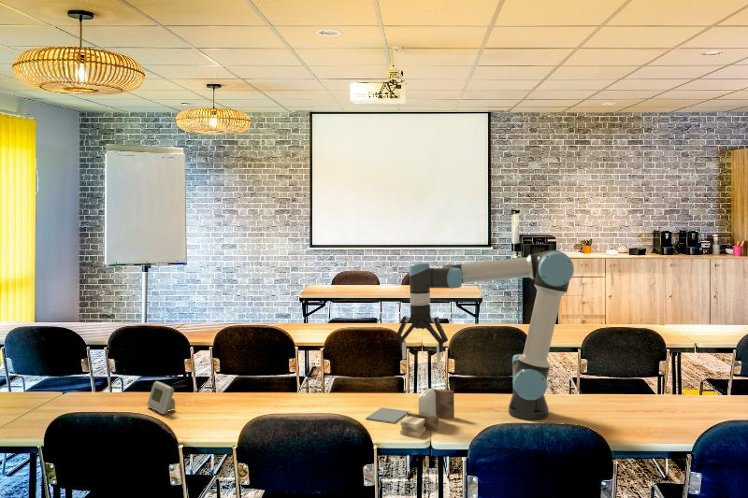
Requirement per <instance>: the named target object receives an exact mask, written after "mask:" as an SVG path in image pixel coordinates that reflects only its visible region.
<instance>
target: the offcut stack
mask: <svg viewBox="0 0 748 498" xmlns="http://www.w3.org/2000/svg"><path fill="white" fill-rule="evenodd" d="M424 423H425V419H422V418H416V417H410V416H409V417H408V418H407V417H406V418H405V419H403V420H401V421H400V426H401V429H400V430H399V431H400V432H399V434H400V435H405V436H411V437H420V436H421V435H422V434H423V433H424V432H425V431H426V427H424Z"/></svg>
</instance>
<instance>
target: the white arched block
mask: <svg viewBox="0 0 748 498" xmlns="http://www.w3.org/2000/svg"><path fill="white" fill-rule="evenodd" d="M432 389H433V388H430V389H426V390H424V391H422V392H421V393H420V394H419V397H418V414H422V415H429V416H436V395H435V391H434V390H432Z"/></svg>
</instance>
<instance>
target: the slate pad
mask: <svg viewBox="0 0 748 498" xmlns="http://www.w3.org/2000/svg"><path fill="white" fill-rule="evenodd" d="M408 412H409V413H410V411H409V410H403V409H395V408H389V407H381V408H378V409H377V410H376V411H374V412H372V413H371V414H369V415H367V416H366V417H365V420H367V421H374V422H381V423H388V424H389V423H390V424H396V423H397V422H398V421H400V420H401V419H403V418H404V417H405V416H407V415H406V414H407V413H408ZM403 416H404V417H403ZM402 417H403V418H402Z"/></svg>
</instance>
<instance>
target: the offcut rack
mask: <svg viewBox="0 0 748 498" xmlns="http://www.w3.org/2000/svg"><path fill="white" fill-rule="evenodd" d="M426 389H432V390H434V391H435V395H436V416H429V415H422V414H419V413H415V412H414V413H413V412H409V413H407V415H406V418H408V417H409V416H410V417H416V418H422V419H425V423H424V427H426V430H427V431H434V432H440V418H441V417H442V418H451V419H454V418H455V391H454V390H445V389H436V388H428V387H424V388H423V389H422V390H423V391H424V390H426ZM423 391H422V392H423ZM426 430H425V431H426Z"/></svg>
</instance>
